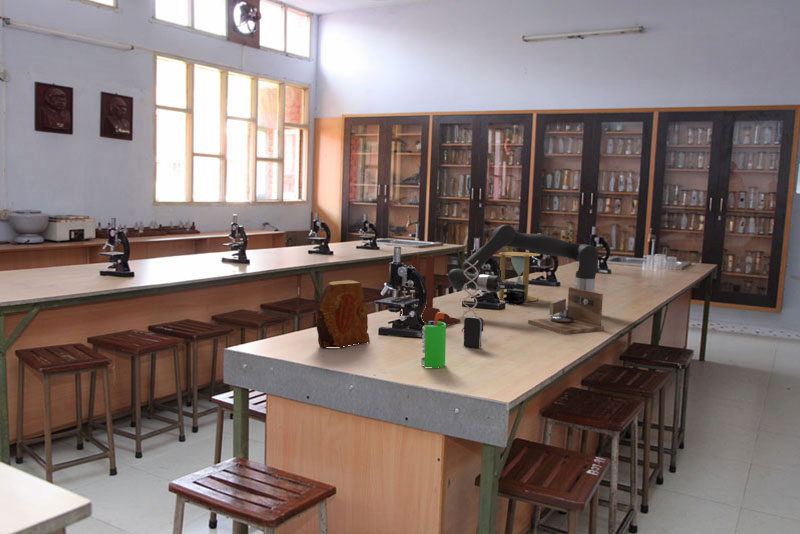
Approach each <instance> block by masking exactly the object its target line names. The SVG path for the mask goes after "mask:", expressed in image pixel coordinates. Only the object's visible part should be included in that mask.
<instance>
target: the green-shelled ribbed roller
mask: <svg viewBox="0 0 800 534" xmlns="http://www.w3.org/2000/svg"><path fill="white" fill-rule="evenodd" d="M444 313H445V312H442V311H440V312H438V313H437V314H436V316H435V320H434V321H429V324H427V325H423V326H422V334H423V335H421V336H422V337H421V338H422V346H421V347H422V349H421V352H422V353H423V354H424V357H422V358H420V365H421V364H422V365H424V366H425V367H432V368H437V369H439V368H438V367H443V366H445V367H446V342H447V341H446V337H447V325H446V323H444V322H438V319H440V318H441V319H444ZM425 367H424V368H425ZM443 368H444V367H443Z"/></svg>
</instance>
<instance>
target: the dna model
mask: <svg viewBox="0 0 800 534" xmlns="http://www.w3.org/2000/svg"><path fill="white" fill-rule="evenodd" d="M465 261H466V262H467V263H468V264H469V265H471V266H470V267H469V268H471V267H473V268H475V267H474V265H476V264H477V262H478V260H477V262H476V263H475V264H473V265H472V264H470V263H469V262H468V261H467V259H464V262H465ZM469 268H467V269H466V270H465V271H464V275H465V276H466V277H467V278H468V279H470V281H469V282H468V283H470V282H473V283H475V282H474V281H473V280H475V279H476V278H477V276H478V274H479V271H478V270H479V269H478V270H477V269H476V268H475V270H476V273H474V274H465V272H466V271H467V270H468V269H469ZM475 274H477V276H476V277H475V278H473V279H471V278H469V277H468V276H467V275H475ZM468 283H466V284H465V285H464V286H463V288H462V290H463V291H464V292H466V293H467V294H468V296H466V297H464V298H463V300H462V304H463V305H464V306H465V307H467V308H468V310H466V311H465V312H463V314H462V315H461V317H462V319H463V320H465V318H466V316H465V315H466V314H467V313H469V312H473V314H474V317H478V315H477V313H476V311H475V310H474V309H475V308H476V307H477V306H478V298H476V296H475V294H476V293H477V291H479V289H478V286H477V284H476V283H475V285H476V289H472V288H470V290H472V291H473V290H474V292H473V293H471V292H470V291H468V287H467V284H468ZM466 287H467V288H466ZM470 297H472V298H473V299H474V300H475V303H474V302H465V301H466V300H467V299H468V298H470ZM468 304H469V305H473V306H472V307H470V306H469V305H468ZM462 331H463V332H464V326H463V327H462V328H461V332H462Z"/></svg>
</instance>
